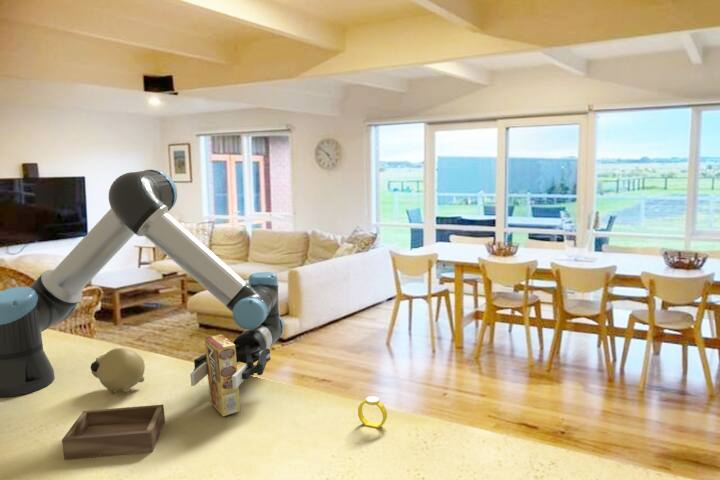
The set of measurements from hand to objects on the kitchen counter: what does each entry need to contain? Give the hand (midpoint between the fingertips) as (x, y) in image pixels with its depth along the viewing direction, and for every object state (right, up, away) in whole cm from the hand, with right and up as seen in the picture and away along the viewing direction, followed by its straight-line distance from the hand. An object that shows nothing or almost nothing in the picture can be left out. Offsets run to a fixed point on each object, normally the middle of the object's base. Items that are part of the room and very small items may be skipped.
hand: (213, 381), depth 122 cm
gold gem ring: (+33, -9, -3) cm, 35 cm away
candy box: (+1, -7, +6) cm, 9 cm away
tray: (-17, -10, -6) cm, 21 cm away
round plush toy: (-27, -7, +17) cm, 32 cm away
